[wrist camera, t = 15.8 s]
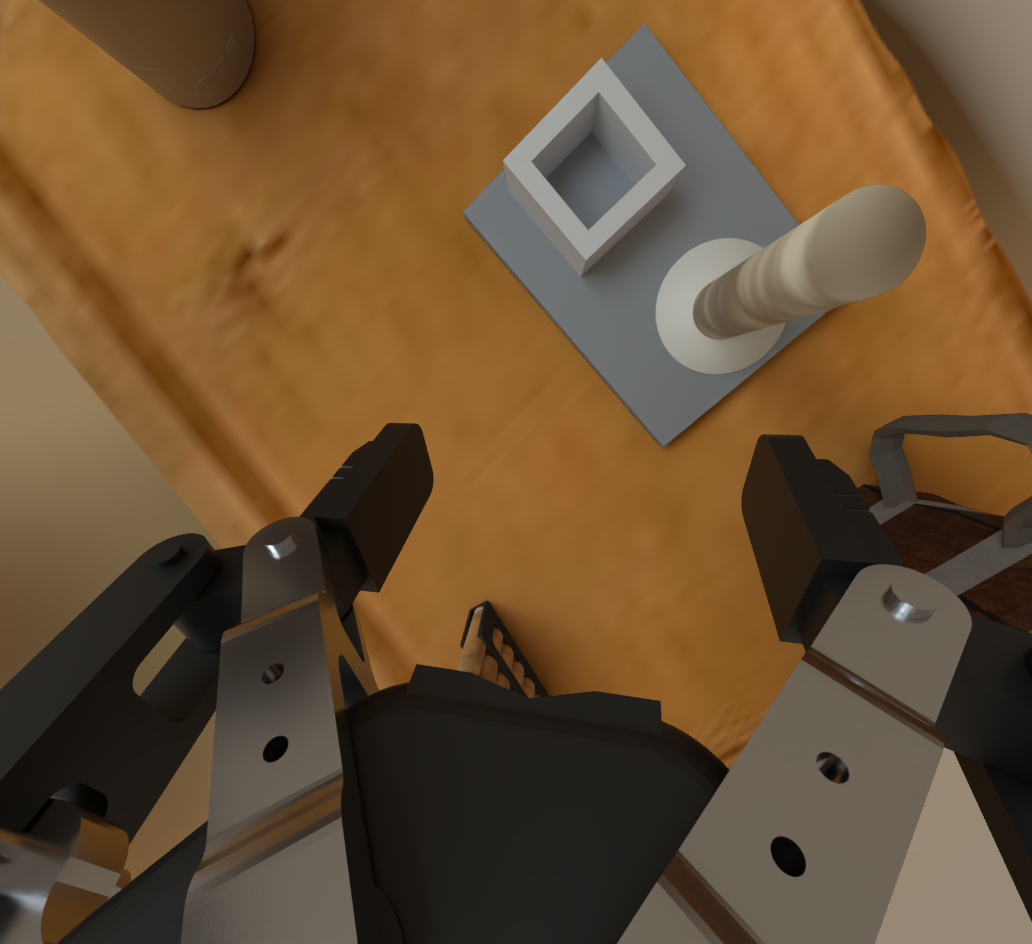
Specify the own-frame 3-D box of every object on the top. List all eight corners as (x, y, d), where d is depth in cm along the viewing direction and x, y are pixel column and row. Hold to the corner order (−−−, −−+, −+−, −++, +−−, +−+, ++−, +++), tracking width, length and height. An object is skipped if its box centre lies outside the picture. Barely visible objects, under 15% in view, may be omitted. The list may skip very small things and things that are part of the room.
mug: (973, 624, 35) (1285, 793, 20) (799, 657, 36) (972, 837, 22) (950, 382, 32) (1299, 375, 17) (760, 429, 33) (932, 458, 19)
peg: (680, 308, 30) (792, 239, 17) (727, 266, 30) (885, 159, 16) (716, 351, 31) (854, 320, 17) (763, 311, 30) (947, 245, 16)
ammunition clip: (469, 609, 38) (435, 708, 26) (487, 599, 37) (461, 695, 26) (532, 706, 39) (526, 843, 27) (550, 698, 39) (552, 832, 27)
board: (466, 220, 32) (450, 185, 26) (639, 41, 29) (661, -38, 24) (658, 444, 34) (680, 454, 29) (836, 296, 31) (897, 277, 26)
